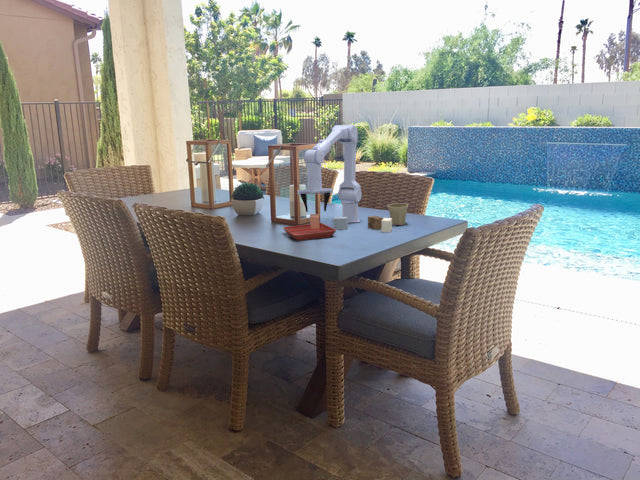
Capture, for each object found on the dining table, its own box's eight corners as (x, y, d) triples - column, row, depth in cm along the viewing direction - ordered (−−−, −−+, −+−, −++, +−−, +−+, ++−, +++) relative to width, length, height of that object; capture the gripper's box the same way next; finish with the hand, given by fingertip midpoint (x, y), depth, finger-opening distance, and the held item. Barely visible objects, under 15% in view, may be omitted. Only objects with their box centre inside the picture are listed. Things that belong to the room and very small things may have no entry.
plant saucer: (282, 234, 226) (282, 226, 225) (321, 229, 232) (321, 222, 231) (295, 243, 209) (294, 235, 209) (337, 238, 215) (337, 230, 215)
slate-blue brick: (333, 229, 229) (332, 218, 228) (334, 228, 232) (333, 217, 231) (347, 229, 228) (346, 218, 227) (347, 228, 231) (347, 216, 230)
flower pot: (384, 225, 233) (383, 206, 231) (391, 221, 241) (391, 202, 239) (404, 227, 229) (404, 207, 227) (411, 222, 237) (411, 203, 235)
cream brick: (384, 229, 226) (384, 217, 225) (392, 229, 225) (392, 218, 224) (381, 232, 221) (381, 220, 220) (389, 232, 220) (389, 220, 219)
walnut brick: (367, 227, 230) (367, 216, 229) (374, 226, 232) (374, 215, 231) (376, 230, 225) (376, 218, 224) (382, 228, 227) (382, 217, 226)
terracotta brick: (310, 225, 225) (310, 214, 224) (318, 225, 225) (318, 213, 224) (311, 228, 219) (310, 217, 218) (319, 228, 219) (319, 216, 218)
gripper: (297, 180, 214) (298, 213, 217) (332, 179, 215) (333, 212, 218) (297, 178, 221) (298, 210, 224) (331, 177, 222) (332, 209, 225)
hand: (315, 211), depth 222 cm, fingers open, 7 cm apart
